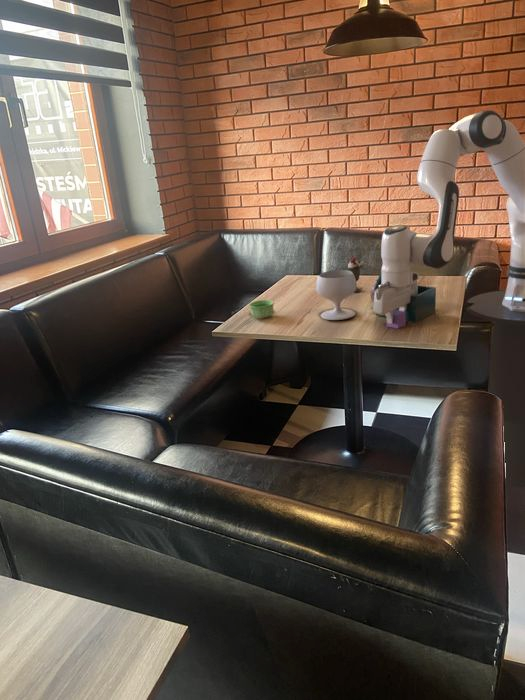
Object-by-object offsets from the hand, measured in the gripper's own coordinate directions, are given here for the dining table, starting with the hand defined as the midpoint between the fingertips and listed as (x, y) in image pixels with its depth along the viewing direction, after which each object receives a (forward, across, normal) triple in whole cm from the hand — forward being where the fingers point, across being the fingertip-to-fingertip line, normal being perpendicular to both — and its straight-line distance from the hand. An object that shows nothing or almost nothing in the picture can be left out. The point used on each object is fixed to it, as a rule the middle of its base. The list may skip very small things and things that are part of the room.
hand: (395, 320), depth 173 cm
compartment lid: (-15, +12, +8) cm, 21 cm away
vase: (+2, +19, +19) cm, 27 cm away
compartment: (+2, +12, +4) cm, 13 cm away
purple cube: (+2, 0, 0) cm, 2 cm away
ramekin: (+2, -14, +48) cm, 50 cm away
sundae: (+2, +29, +38) cm, 48 cm away
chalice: (+2, -1, +23) cm, 23 cm away
